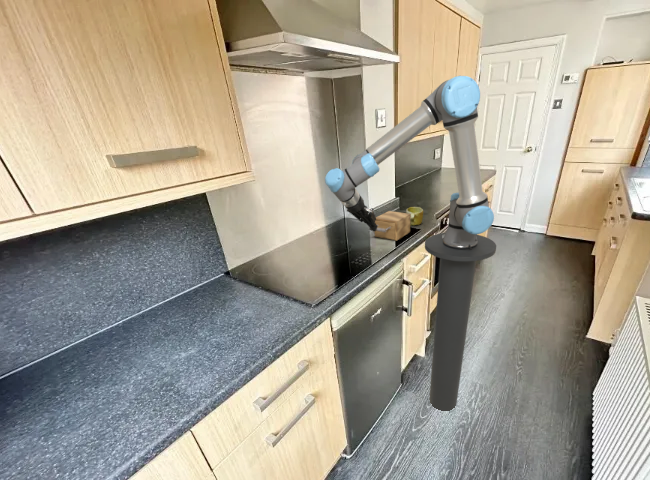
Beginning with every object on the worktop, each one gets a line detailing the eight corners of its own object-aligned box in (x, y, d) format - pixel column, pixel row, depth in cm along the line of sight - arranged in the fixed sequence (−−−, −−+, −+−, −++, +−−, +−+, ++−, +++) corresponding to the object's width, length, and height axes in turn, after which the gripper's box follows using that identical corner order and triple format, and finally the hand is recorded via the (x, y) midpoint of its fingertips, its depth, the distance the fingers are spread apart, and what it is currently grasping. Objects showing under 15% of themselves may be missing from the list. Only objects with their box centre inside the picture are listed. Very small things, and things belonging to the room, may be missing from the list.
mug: (407, 216, 183) (411, 201, 176) (423, 223, 180) (428, 208, 173) (398, 226, 175) (402, 210, 168) (414, 233, 172) (419, 218, 165)
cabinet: (396, 240, 154) (396, 221, 149) (374, 236, 160) (374, 218, 155) (410, 232, 164) (410, 213, 160) (389, 228, 171) (388, 210, 166)
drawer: (387, 243, 148) (387, 227, 144) (367, 239, 154) (366, 224, 150) (407, 231, 163) (407, 216, 159) (387, 228, 168) (387, 213, 164)
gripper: (335, 206, 129) (360, 233, 149) (361, 210, 122) (384, 238, 142) (342, 190, 130) (366, 219, 150) (368, 193, 124) (390, 223, 144)
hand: (375, 228), depth 146 cm, fingers closed
